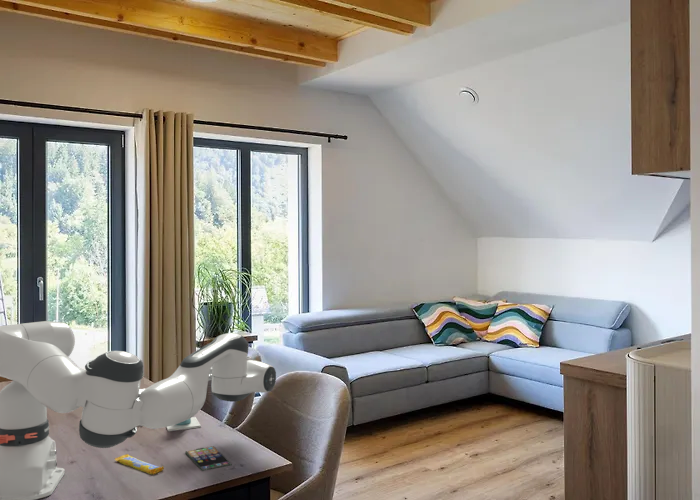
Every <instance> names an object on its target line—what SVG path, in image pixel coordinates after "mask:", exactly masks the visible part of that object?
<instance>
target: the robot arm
mask: <svg viewBox="0 0 700 500" xmlns="http://www.w3.org/2000/svg"><path fill="white" fill-rule="evenodd" d="M75 340H76V338H75V334H74V332H73V330H72V329H71V327H70V326H69V325H68V324H67V323H66V322H62V321H53V320H51V321H49V320H44V321H34V322H33V321H32V322H26V323H18V324H17V323H15V324H7V325H0V377H1V378H4V379H5V378H6V379H8V380H11V382H10V383H8V384H7V385H5V386H3V387H2V389H0V500H39V499H42V498H46V497H48V496H51V495H52V494H53V493H54V491H55V490H56V488H57V486H58V485H59V484H60V482H61V480H62V479H63V476H65V473H66V472H65V471H66V470H65V468H63V467H58V462H57V447H56V446H57V445H56V443H57V442H56V441H55V440H54V439H53V438H52V437H50V423H49V419H48V418H47V416H48V415H47V413H48V412H47V411H48V409H49V410H51V411H54V412H56V413H59V414H68V413H72V412H74V411H76V410H77V409H79V408H80V407H81V408H82V412H81V419H80V420H79V422H78V423H79V425H78V431H79V437H80V439H81V440H82V441H83V442H84V443H85V444H87V445H88V446H90V447H94V448H99V449H108V448H113V447H115V446H118V445H119V444H122V443H125V441H126V440H127V439H128V438H133V437H134V436H135V435H136V433H137V431H138V428H137V427H138V426H139V427H141V426H142V427H144V428H148V429H152V430H153V429H162V428H163V429H164V428H166V427H168V426H172V425H176V424H178V423H181V422H183V421H186V420H188V419H190V418H192V417H195V416H196V415H197V414H198V413H199V411H200V410H201V409H202V408H203V406H204V404H205V402H206V398H207V393H208V392H207V391H208V384H209V381H211V393H212V394H213V396H214V397H215V398H217V399H218V400H220V401H225V402H232V403H233V402H240V401H242V400H245V399H246V398H247V397H248V396H250V395H251V394H252V393H269V392H272V391H273V389H274V387H275V386H276V383H277V372H276V368H275V367H274V366H273V365H271V364H268V363H267V362H263V361H259V360H255V359H253V357H252V356H248V354H249V345H250V343H249V342H248V341H247V339H246V338H245V337H244V336H243V335H242V334H239V333H236V332H227V333H223V334H220V335H218V336H216V337H215V338H214V339H213V340H212V341H211V342H209V343H207V344H206V345H204V346H202V347H201V348H198V349H197V350H196V351H193V352H191V354H189V355H187V356H186V357H184V358H183V359H182V361H181V362H180V364H179V366H178V367H177V368H176V370H175V371H174V372H173V373H172V374H171V375H170V376H169V377H167V378H164V379H162V380H159V381H157V382H154V383H153V384H151V385H150V386H147V387H146V388H141V382H142V379H143V377H144V362H143V361H142V360H141V358H139V357H138V356H137V355H136V354H133V353H130V352H127V351H123V350H109V351H107V352H104V353H102V354H100V355H98V356H96V358H95V359H91V360H89V361H87V362H86V364H85V366H84V368H82V367H80V366H79V365H78V364H77V363H75V361H73V359H71V358H70V356H71V355H72V353H73V351H74V349H75V343H76V341H75ZM47 408H48V409H47Z"/></svg>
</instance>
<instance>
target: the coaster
mask: <svg viewBox="0 0 700 500" xmlns="http://www.w3.org/2000/svg"><path fill="white" fill-rule="evenodd" d="M201 427H202V425H201V424H200V422H199V420H198V419H197V417H196V416H193V417H192V418H191V423H189V424H187V425H172V426H168V427H165V428H166V429H167V432H173V431H181V430H182V431H183V430H190V429H200V428H201Z"/></svg>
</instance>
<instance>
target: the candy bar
mask: <svg viewBox="0 0 700 500" xmlns="http://www.w3.org/2000/svg"><path fill="white" fill-rule="evenodd" d="M114 461H115V462H118V463H120V464H121V465H124V466H127V467H130V468H133V469H135V470H138V471H140V472H144V473H146V474H148V475H151V476H152V475H156V474H157V473H161V472H163V470H164V469H165V468H164V466H157V465H154V464H152V463H149V462H146V461H143V460H142V459H138V458H136V457H134V456H132V455H129V454H128V453H126V454H123V455H119V456H118V457H115V458H114Z"/></svg>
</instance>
